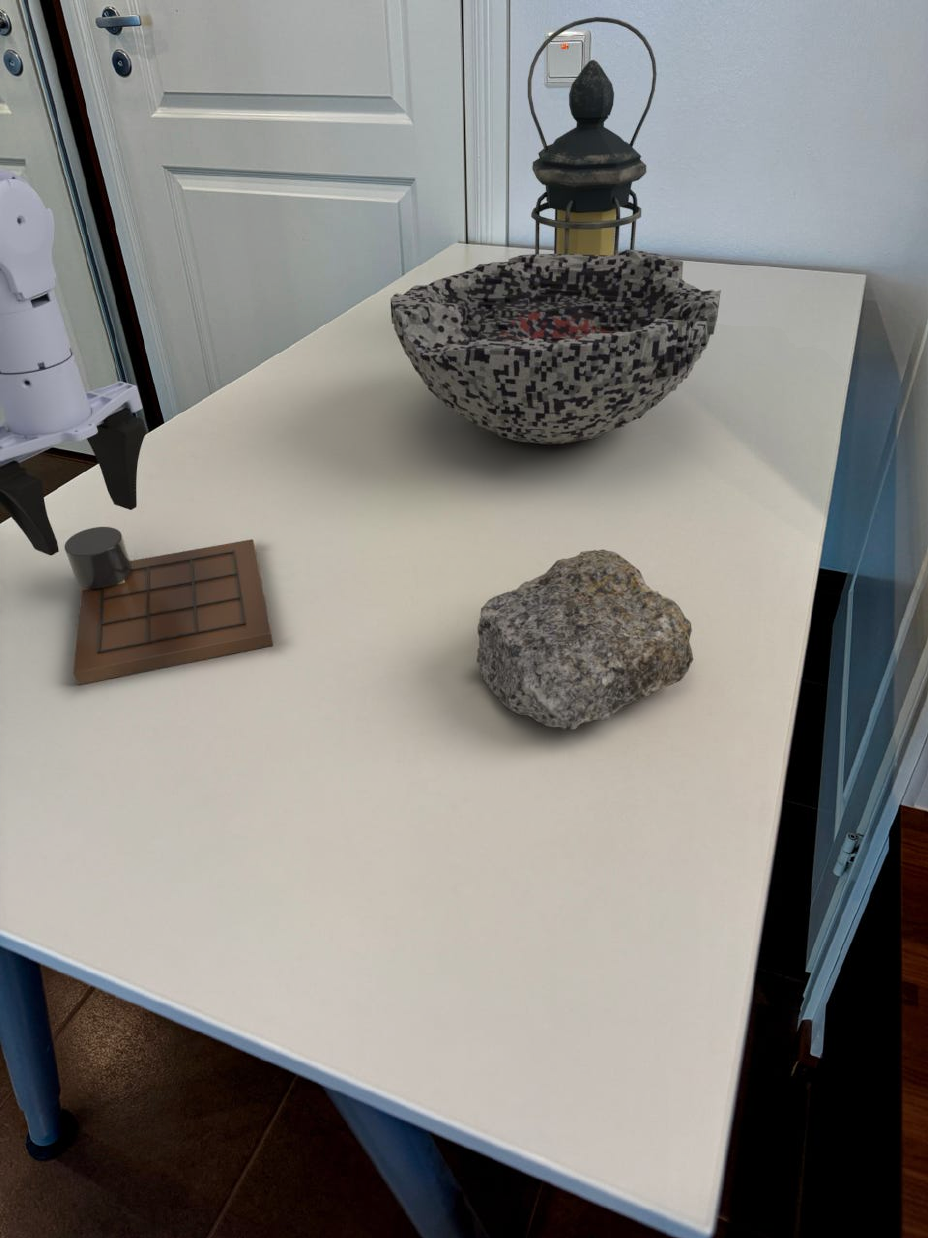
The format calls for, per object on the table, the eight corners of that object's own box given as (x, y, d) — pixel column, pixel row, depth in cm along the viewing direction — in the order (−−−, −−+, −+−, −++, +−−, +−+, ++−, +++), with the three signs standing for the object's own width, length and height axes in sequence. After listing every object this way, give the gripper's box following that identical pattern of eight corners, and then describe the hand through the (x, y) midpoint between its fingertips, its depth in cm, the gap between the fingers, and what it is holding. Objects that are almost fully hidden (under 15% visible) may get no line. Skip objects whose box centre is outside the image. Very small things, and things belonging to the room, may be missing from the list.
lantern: (626, 321, 120) (649, 9, 99) (645, 356, 109) (675, 16, 88) (522, 326, 120) (522, 15, 99) (530, 362, 109) (533, 22, 88)
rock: (545, 766, 55) (720, 683, 61) (551, 690, 51) (738, 609, 57) (443, 655, 64) (606, 592, 70) (442, 583, 60) (615, 522, 66)
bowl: (712, 383, 102) (732, 247, 93) (681, 518, 78) (703, 353, 69) (456, 361, 110) (450, 235, 101) (357, 478, 86) (339, 326, 77)
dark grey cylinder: (87, 595, 69) (74, 562, 68) (68, 572, 72) (56, 539, 70) (140, 574, 72) (130, 541, 70) (120, 553, 74) (109, 520, 72)
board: (77, 685, 63) (71, 671, 62) (87, 580, 74) (82, 566, 73) (273, 645, 66) (270, 631, 65) (255, 550, 77) (252, 536, 76)
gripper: (-30, 408, 54) (42, 587, 63) (149, 334, 64) (191, 498, 72) (-95, 387, 57) (-18, 561, 66) (85, 320, 67) (132, 479, 75)
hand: (87, 527), depth 69 cm, fingers open, 7 cm apart
